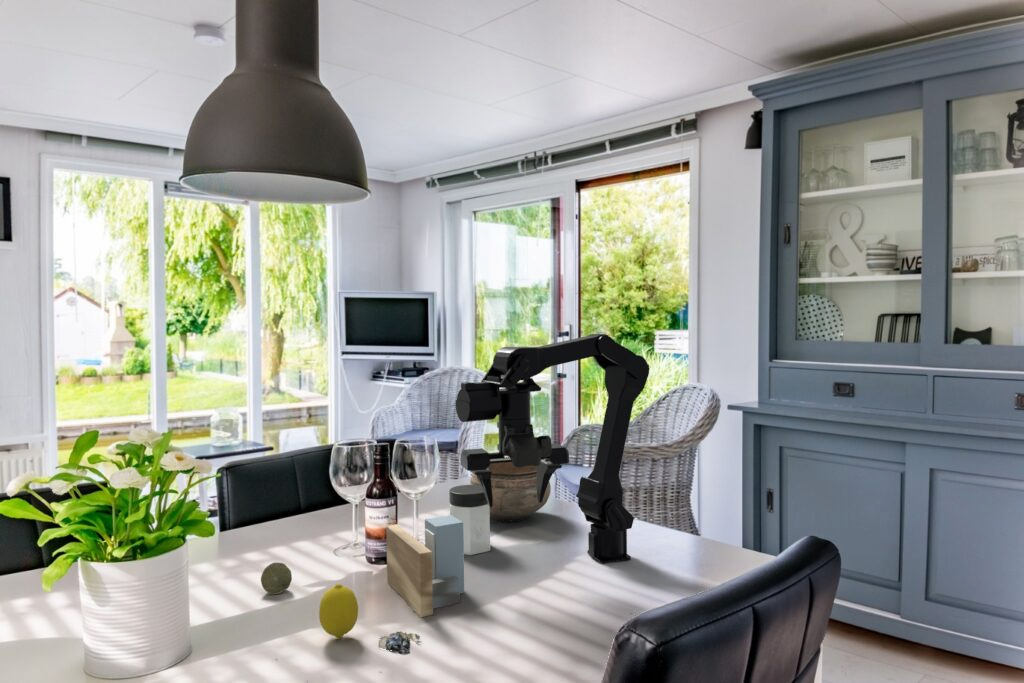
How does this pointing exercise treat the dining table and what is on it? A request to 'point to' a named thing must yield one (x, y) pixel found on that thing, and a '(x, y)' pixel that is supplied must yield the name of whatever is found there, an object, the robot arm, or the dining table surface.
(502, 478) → the cooking pot
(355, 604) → the lemon
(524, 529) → the dining table surface
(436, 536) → the light blue tall block
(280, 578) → the lime
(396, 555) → the wooden bookend
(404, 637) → the blueberries
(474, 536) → the jar
